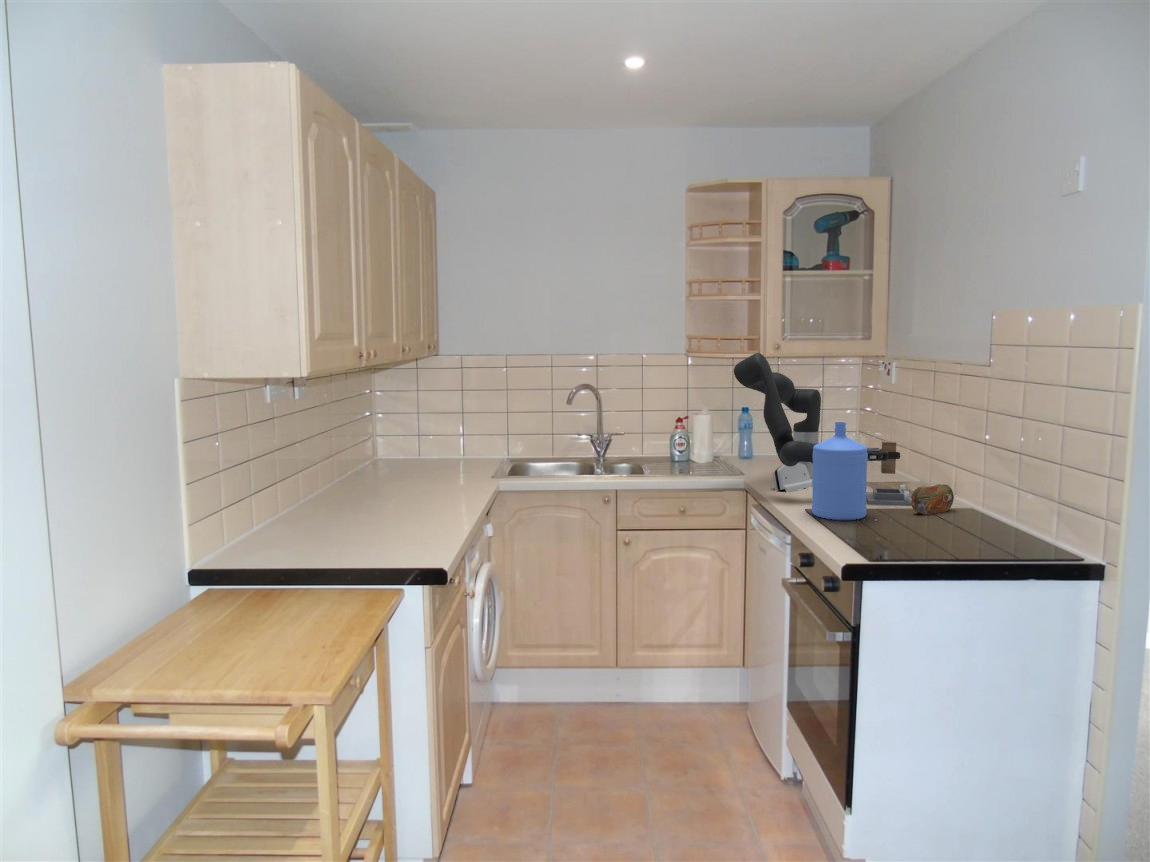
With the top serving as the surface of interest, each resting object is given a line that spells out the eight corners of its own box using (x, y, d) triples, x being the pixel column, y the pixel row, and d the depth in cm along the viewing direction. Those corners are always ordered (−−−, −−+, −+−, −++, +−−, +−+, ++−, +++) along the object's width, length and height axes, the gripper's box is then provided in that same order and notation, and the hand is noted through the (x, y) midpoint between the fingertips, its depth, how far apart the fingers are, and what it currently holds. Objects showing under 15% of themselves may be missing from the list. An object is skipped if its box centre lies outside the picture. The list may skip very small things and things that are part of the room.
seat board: (865, 494, 270) (865, 483, 270) (906, 496, 267) (907, 484, 266) (868, 504, 256) (868, 491, 256) (912, 505, 253) (912, 493, 252)
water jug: (854, 523, 231) (856, 427, 228) (802, 516, 241) (804, 423, 238) (874, 513, 243) (876, 421, 240) (824, 507, 253) (825, 418, 250)
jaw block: (880, 471, 263) (881, 441, 262) (894, 471, 262) (895, 441, 260) (881, 473, 259) (882, 442, 258) (895, 473, 258) (896, 442, 257)
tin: (917, 516, 239) (917, 488, 238) (908, 514, 242) (909, 486, 241) (954, 510, 245) (955, 483, 244) (945, 508, 248) (946, 481, 247)
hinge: (786, 492, 277) (778, 464, 278) (776, 495, 280) (768, 467, 282) (816, 486, 287) (808, 459, 288) (805, 489, 290) (798, 462, 292)
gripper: (848, 445, 254) (904, 445, 252) (838, 439, 268) (891, 439, 266) (847, 469, 255) (903, 469, 253) (837, 462, 269) (891, 462, 267)
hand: (897, 454), depth 259 cm, fingers closed on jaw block, 4 cm apart
